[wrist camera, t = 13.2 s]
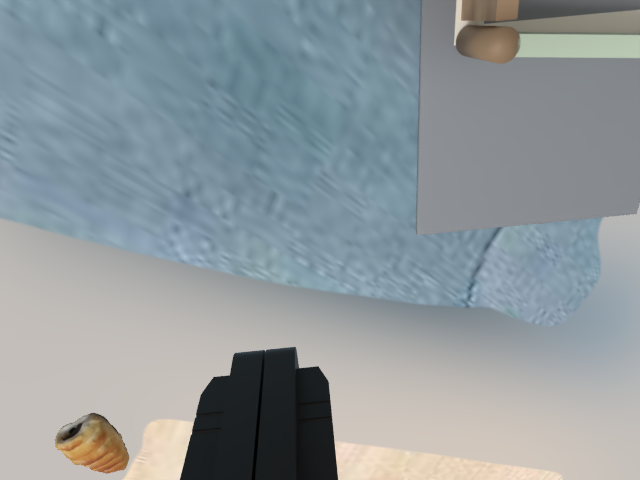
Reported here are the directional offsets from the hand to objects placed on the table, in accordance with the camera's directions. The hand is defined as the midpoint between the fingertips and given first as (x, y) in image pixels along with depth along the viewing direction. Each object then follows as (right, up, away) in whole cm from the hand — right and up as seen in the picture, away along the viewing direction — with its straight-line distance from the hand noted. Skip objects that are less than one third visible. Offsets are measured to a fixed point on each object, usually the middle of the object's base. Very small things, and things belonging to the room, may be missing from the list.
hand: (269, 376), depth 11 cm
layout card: (+21, +20, +27) cm, 40 cm away
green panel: (+22, +20, +26) cm, 40 cm away
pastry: (-27, -22, +46) cm, 58 cm away
